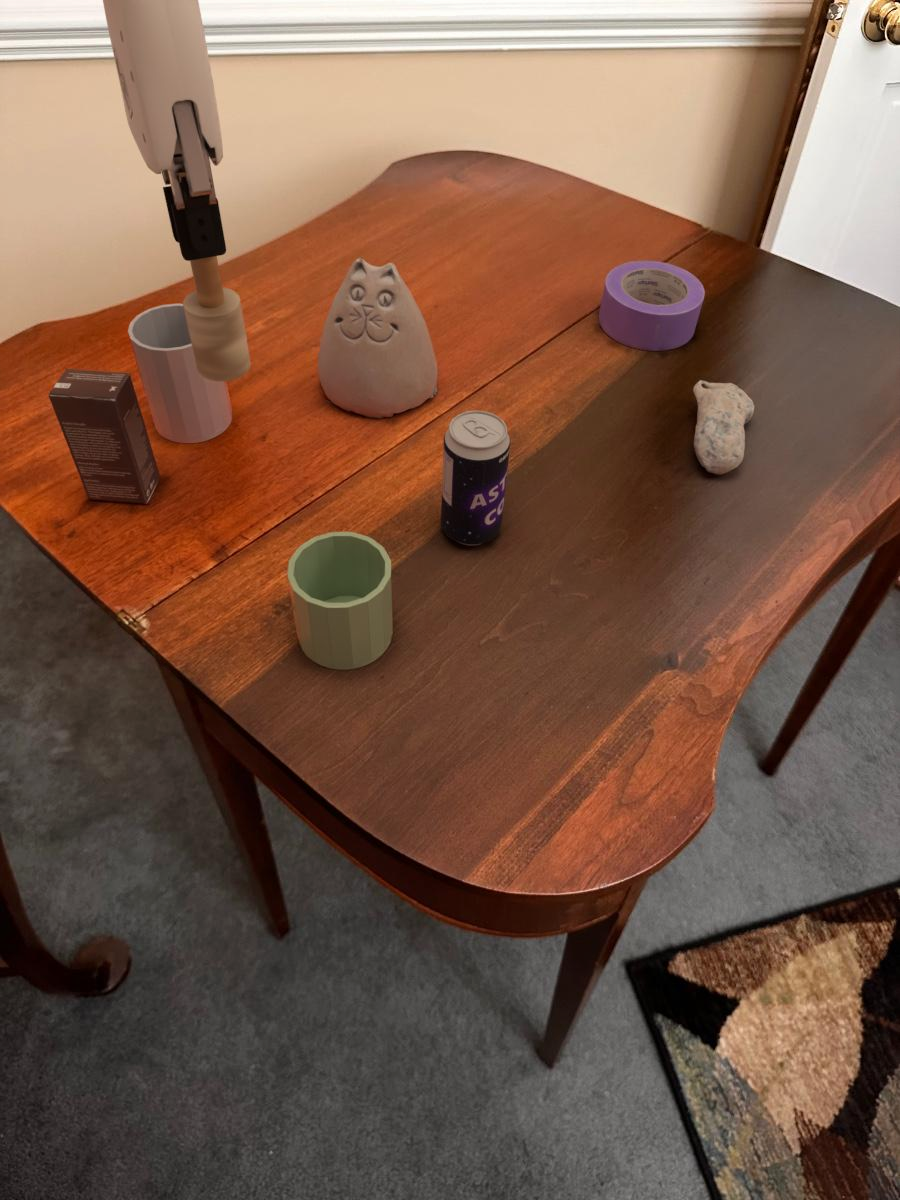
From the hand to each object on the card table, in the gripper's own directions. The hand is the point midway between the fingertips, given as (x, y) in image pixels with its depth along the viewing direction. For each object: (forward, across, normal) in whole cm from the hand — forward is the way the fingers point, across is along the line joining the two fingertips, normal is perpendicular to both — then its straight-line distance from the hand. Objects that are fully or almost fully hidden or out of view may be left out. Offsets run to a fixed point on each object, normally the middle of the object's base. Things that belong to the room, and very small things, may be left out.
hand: (200, 245), depth 65 cm
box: (+25, -5, -11) cm, 28 cm away
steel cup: (+25, -14, -2) cm, 29 cm away
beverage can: (+25, +12, +18) cm, 33 cm away
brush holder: (+25, +19, +3) cm, 32 cm away
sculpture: (+25, -12, +18) cm, 33 cm away
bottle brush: (+11, 0, 0) cm, 11 cm away
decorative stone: (+26, +10, +48) cm, 55 cm away
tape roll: (+26, -12, +53) cm, 60 cm away
